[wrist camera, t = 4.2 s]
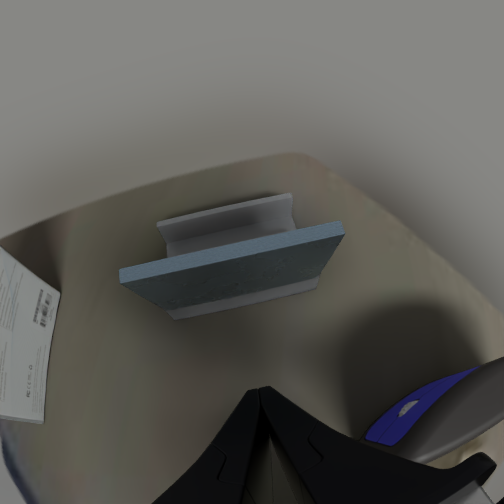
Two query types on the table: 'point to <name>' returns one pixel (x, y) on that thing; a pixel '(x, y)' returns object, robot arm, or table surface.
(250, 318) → the table surface
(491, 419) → the grey blue curved block
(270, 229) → the cable duct
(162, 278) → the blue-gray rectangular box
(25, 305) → the hard drive box
